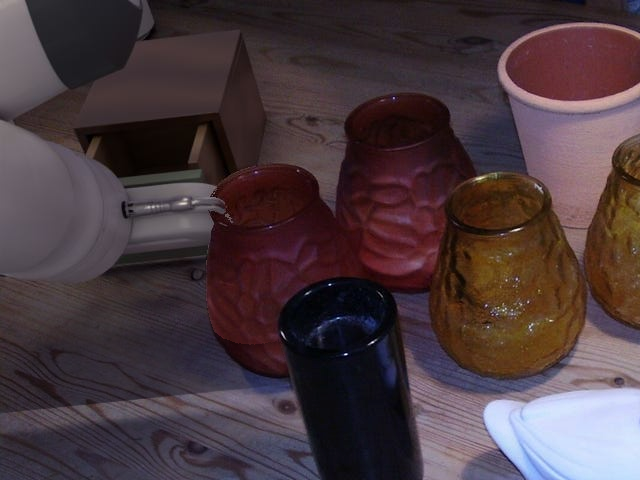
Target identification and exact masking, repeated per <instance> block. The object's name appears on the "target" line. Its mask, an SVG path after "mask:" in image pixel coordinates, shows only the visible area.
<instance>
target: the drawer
mask: <svg viewBox="0 0 640 480" xmlns="http://www.w3.org/2000/svg"><path fill="white" fill-rule="evenodd" d="M84 155H85V154H84ZM85 156H87V157H89V158H92V159H94V160H96V161H98V162H100V163H101V164H103V165H104V166H106V167H107V168H108V169H109V170H111V171H112V172H113V173H114V174H115V176H116V177H117V178H118V179H119V181H120V182H121V184H122V185H123V187H124V189H128V188H137V187H146V186H155V185H164V184H174V183H204V184H210V185H214V186H217V185H218V184H219V183H220V182H221V181H222V180H224V179H225V178H227V177H228V176H229V175H230V172H229V169H228V166H227V163H226V160H225V157H224V154H223V151H222V148H221V145H220V143H219V140H218V137H217V134H216V131H215V128H214V125H213V122H212V121H204V122H195V123H187V124H178V125H169V126H160V127H151V128H142V129H134V130H125V131H116V132H107V133H98V134H94V136H93V139H92V141H91V143H90V146H89V148H88V150H87V153H86V155H85ZM207 250H208V245H205V246H196V247H186V248H177V249H168V250H158V251H149V252H140V253H130V254H121V256H120V257H119V259H118V260H117V261H116V262H115V263H114V265H113V266H117V265H126V264H127V265H128V264H137V263H144V262H154V261H163V260H164V261H165V260H173V259H180V258H181V259H182V258H191V257H201V256H208V255H207Z"/></svg>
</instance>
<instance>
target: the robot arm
mask: <svg viewBox="0 0 640 480" xmlns="http://www.w3.org/2000/svg"><path fill="white" fill-rule="evenodd" d="M142 13H143V4H142V1H141V0H0V278H6V277H10V278H14V279H19V280H23V281H31V282H38V281H40V282H47V283H53V284H54V283H55V284H63V285H73V284H81V283H86V282H89V281H91V280H94V279H96V278H98V277H99V276H102V275H103V274H104V273H105V272H107V271H108V270H109V269H111V268H112V267H113V266H115V265H114V263H115V262H116V261H117V260H118V259H119V257H120V256H121V254H130V253H140V252H149V251H158V250H168V249H177V248H186V247H196V246H205V245H210V239H211V230H212V228H213V225H214V222H213V220H212V218H211V216H210V213H209V211H210V212H211V211H215V212H218V213H220V214H224V213H225V212H226V211H225V210H226V208H227V206H226V205H225V202H224V201H223V200H221V199H219V198H216V197H210V196H211V194H212V193H213V191H214V190H215V189H216V188H217V186H214V185H210V184H204V183H174V184H164V185H155V186H146V187H137V188H128V189H124V187H123V185H122V184H121V182H120V181H119V179H118V178H117V177H116V176H115V174H114V173H113V172H112V171H111V170H109V169H108V168H107V167H106V166H104V165H103V164H101V163H100V162H98V161H96V160H94V159H92V158H89V157H87V156H85V154H84V153H80V152H78V151H75V150H73V149H71V148H69V147H67V146H65V145H62V144H60V143H57V142H54V141H50V140H46V139H43V138H42V137H40V136H39V135H38V134H35V133H34V132H32V131H31V130H28V129H26V128H23V127H21V126H19V125H16V124H15V122H14V119H16V118H18V117H20V116H22V115H23V114H25V113H28V112H29V111H30V110H33V109H35V108H36V107H38V106H40V105H42V104H44V103H46V102H48V101H49V100H52V99H54V98H55V97H57V96H59V95H60V94H62V93H64V92H66V91H69V90H71V91H72V90H76V89H79V88H81V87H83V86H85V85H88V84H90V83H94V81H95V80H97V79H100V78H102V77H104V76H107V75H109V74H111V73H114V72H116V71H119V70H121V69H123V68H124V67H125V65H126V63H127V61H128V59H129V57H130V55H131V53H132V51H133V48H134V46H135V43H136V40H137V37H138V33H139V29H140V25H141V20H142ZM216 190H217V189H216ZM216 190H215V191H216ZM213 194H215V192H214V193H213ZM212 196H213V195H212ZM208 210H209V211H208ZM229 216H230V215H229V214H228V213H227V214H225V217H227V218H229V219H228V220H230V222H231V223H233V221H231V219H232V218H231V217H229Z"/></svg>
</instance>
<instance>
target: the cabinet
mask: <svg viewBox="0 0 640 480" xmlns="http://www.w3.org/2000/svg"><path fill="white" fill-rule="evenodd" d="M204 121H212V122H213V125H214V128H215V131H216V134H217V137H218V140H219V143H220V145H221V148H222V151H223V154H224V157H225V160H226V163H227V166H228V169H229V172H230V175H231V174H233V173H235V172H237V171H240V170H242V169H245V168H248V167H252V166H255V165H257V166H258V160H259V156H260V151H261V146H262V141H263V137H264V130H265V127H266V121H267V114H266V111H265V107H264V104H263V101H262V97H261V93H260V89H259V86H258V83H257V80H256V77H255V73H254V70H253V67H252V63H251V59H250V55H249V53H248V50H247V45H246V43H245V39H244V35H243V33H242V30H241V29H232V30H224V31H215V32H205V33H197V34H189V35H180V36H171V37H163V38H156V39H155V38H154V39H147V40H141V41H137V42H136V43H135V46H134V48H133V51H132V53H131V55H130V57H129V59H128V61H127V63H126V65H125V67H124V68H123V69H121V70H119V71H116V72H114V73H111V74H109V75H107V76H104V77H102V78H100V79H97V80H95V81H93V82H92V85H91V87H90V90H89V92H88V94H87V95H86V99H85V100H84V103H83V105H82V108H81V110H80V112H79V114H78V117H77V119H76V121H75V123H74V126H73V127H72V130H73V132H74V134H75V136H76V138H77V140H78V143H79V145H80V147H81V150H82V151H83V155H86V153H87V150H88V148H89V146H90V143H91V141H92V139H93V136H94V134H98V133H107V132H116V131H125V130H134V129H142V128H151V127H160V126H169V125H178V124H187V123H195V122H204Z"/></svg>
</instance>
